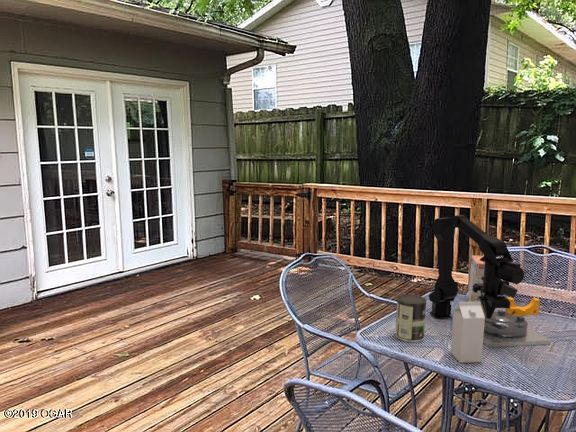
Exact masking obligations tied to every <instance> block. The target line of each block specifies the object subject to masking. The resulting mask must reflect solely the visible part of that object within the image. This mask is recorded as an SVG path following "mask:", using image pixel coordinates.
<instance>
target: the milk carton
mask: <svg viewBox="0 0 576 432" xmlns="http://www.w3.org/2000/svg"><path fill="white" fill-rule="evenodd" d="M452 318H453V319H452V328H451V329H452V331H451V343H450V353H451V355H452V356H454V358H455V359H456V360H457V361H458V362H459V363H482V358H483V357H482V355H483V347H484V344H483V335H484V323H485V316H484V313H483V310H482V308H481V302H468V301H458V306H456V307H455V308H454V309H453V315H452Z"/></svg>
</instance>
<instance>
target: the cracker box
mask: <svg viewBox="0 0 576 432" xmlns="http://www.w3.org/2000/svg"><path fill="white" fill-rule="evenodd" d="M482 257H484V255H475V254H474V255H473V254H472V255H471V259H470V260H471V261H470V269H469V270H470V272H469V283H468V284H469V285H468V295H467V302H480V299H479V297H478V296H481V293H480V291H478V292H477V293H475V292H474V291H473V285H474V284H475V283H483V280H481V277H484V265H485V262H483V261H480V259H481V258H482Z"/></svg>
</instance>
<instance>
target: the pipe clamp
mask: <svg viewBox="0 0 576 432" xmlns="http://www.w3.org/2000/svg"><path fill="white" fill-rule="evenodd" d="M506 298H507V299H508V300H509V301H510V302H511V305H510V308H505V313H508V314H512V315H515V316H522V317H527V315H528V316H539V311H540V304H541V303H540V302H541V300H540V299H539V298H537V297H531V301H530V302H529V303H528V304H527V305H525V306H518V305H517V304H516V303H515V298H512V297H511V296H507V297H506Z"/></svg>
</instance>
